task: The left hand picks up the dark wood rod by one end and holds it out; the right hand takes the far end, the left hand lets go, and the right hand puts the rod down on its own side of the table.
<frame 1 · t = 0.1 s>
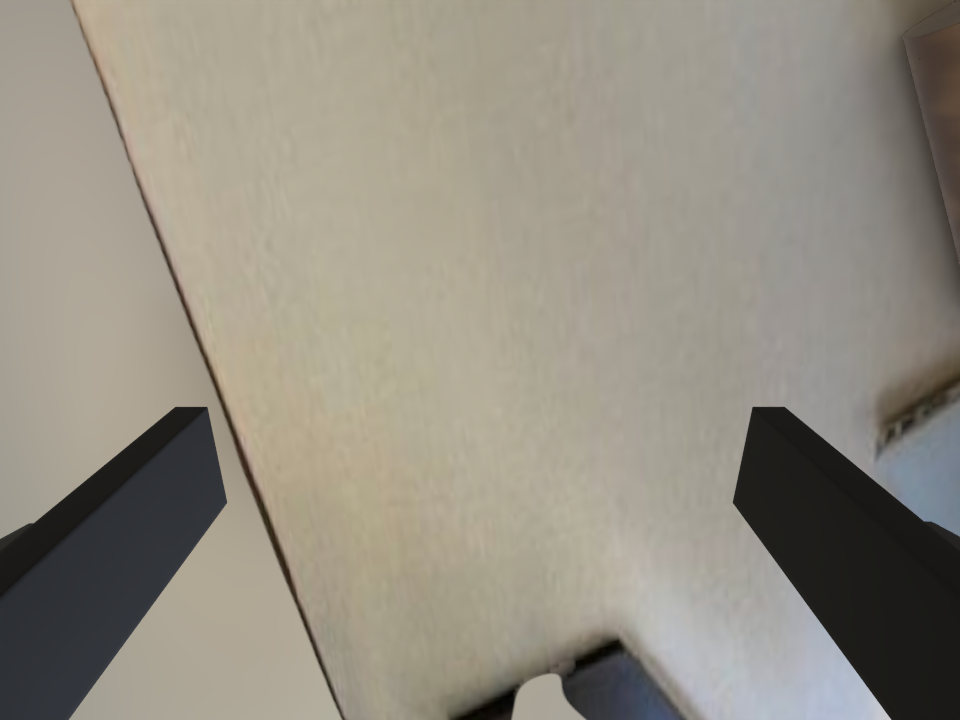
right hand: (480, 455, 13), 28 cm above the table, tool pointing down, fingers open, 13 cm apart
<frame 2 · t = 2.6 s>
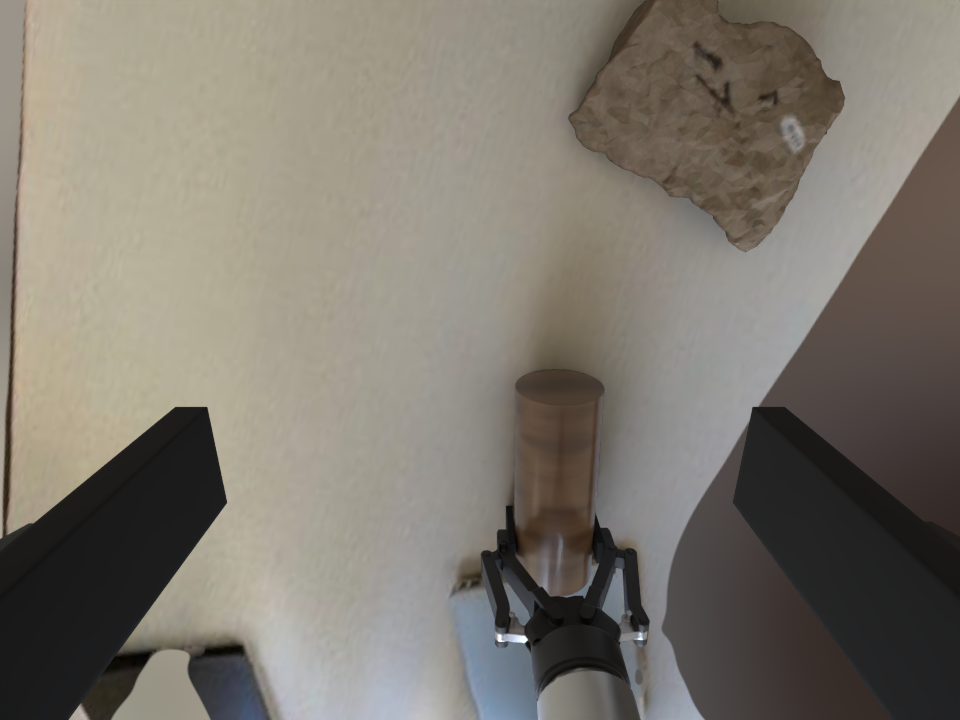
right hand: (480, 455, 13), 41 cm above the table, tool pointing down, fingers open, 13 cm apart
left hand: (548, 514, 62), fingers closed on rod, 9 cm apart
rod: (550, 461, 60), on the table, touching left hand
stone: (694, 123, 47), on the table
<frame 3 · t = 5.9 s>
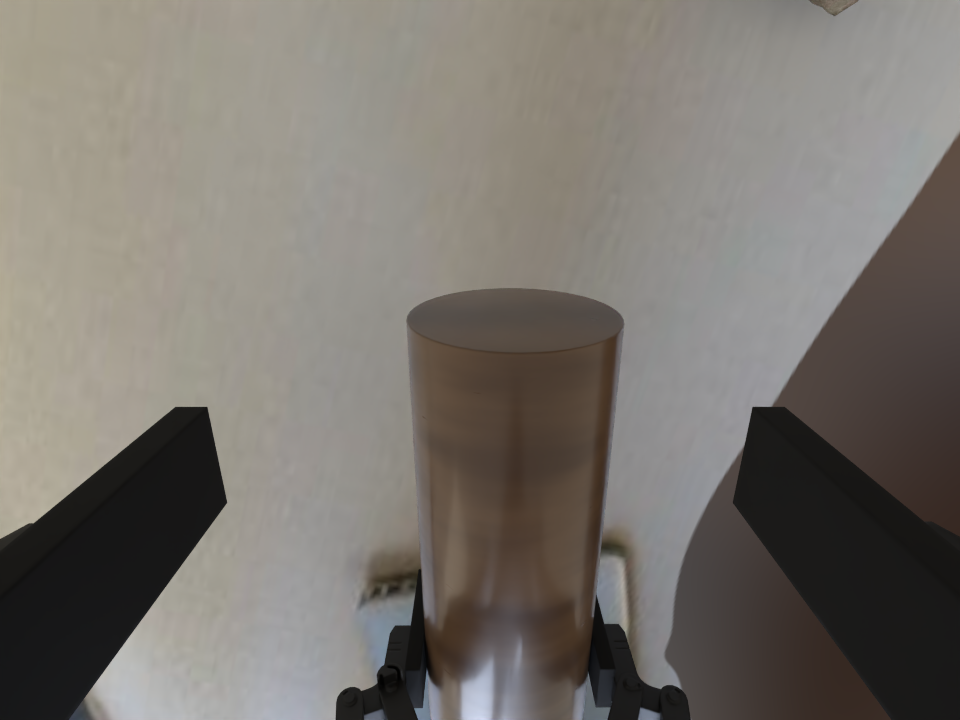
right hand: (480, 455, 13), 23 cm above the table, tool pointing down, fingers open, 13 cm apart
rod: (505, 483, 30), point 10 cm above the table, touching left hand
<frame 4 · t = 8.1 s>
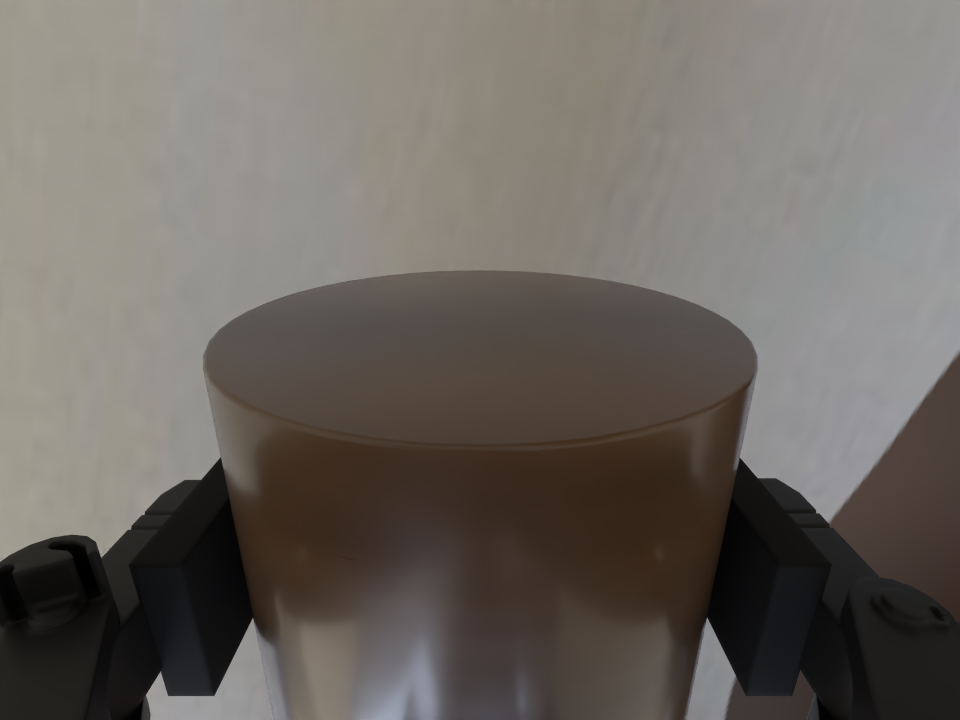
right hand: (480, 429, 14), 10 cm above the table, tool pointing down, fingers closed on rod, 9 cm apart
rod: (479, 612, 17), point 10 cm above the table, touching right hand, left hand
when the left hand's fingers open (10 cm above the table, at t = 9.1 s): rod stays where it is, held by the right hand.
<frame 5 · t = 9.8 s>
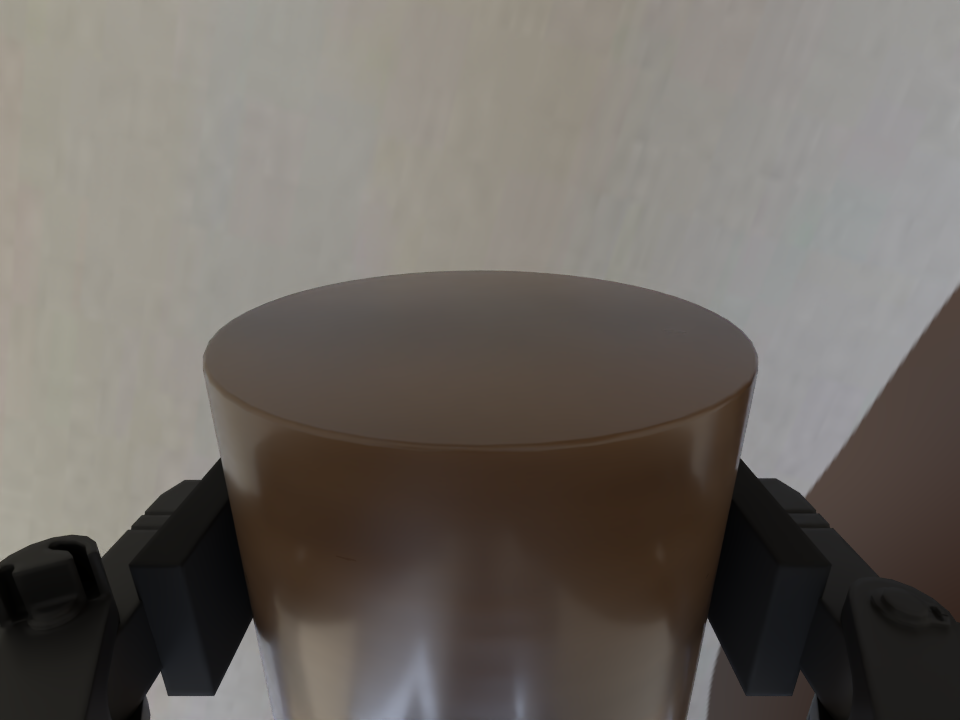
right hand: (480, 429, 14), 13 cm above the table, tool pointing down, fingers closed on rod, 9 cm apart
rod: (479, 612, 17), point 12 cm above the table, touching right hand
when the right hand's fingers open (2 cm above the table, at t = 13.4 s): rod drops 1 cm, on the table.
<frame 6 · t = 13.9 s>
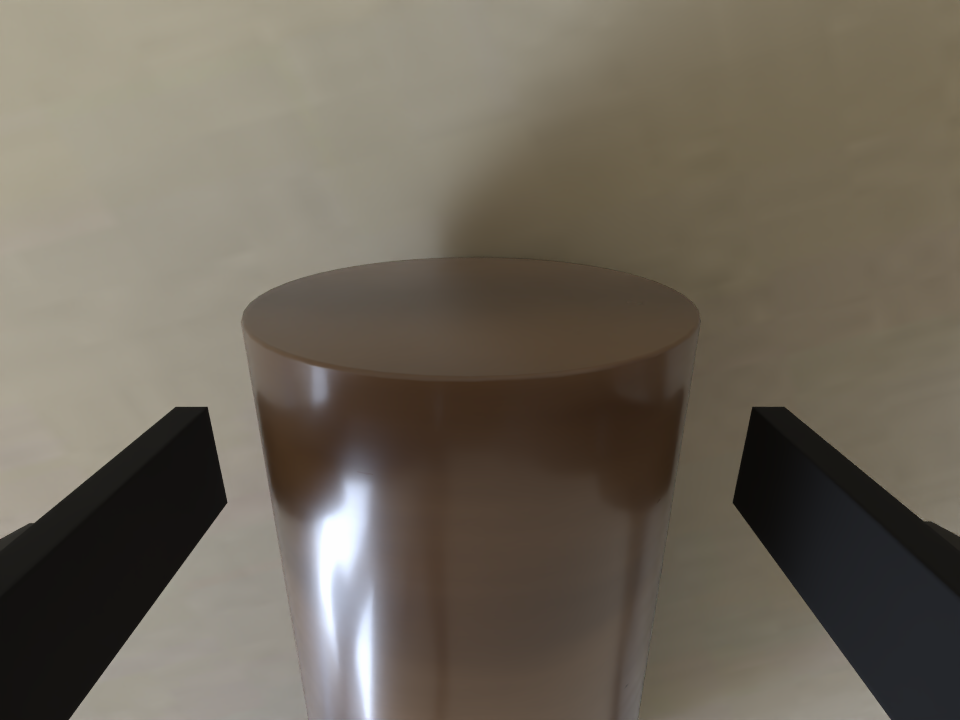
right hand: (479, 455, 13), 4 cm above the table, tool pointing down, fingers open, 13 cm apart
rod: (474, 573, 19), on the table
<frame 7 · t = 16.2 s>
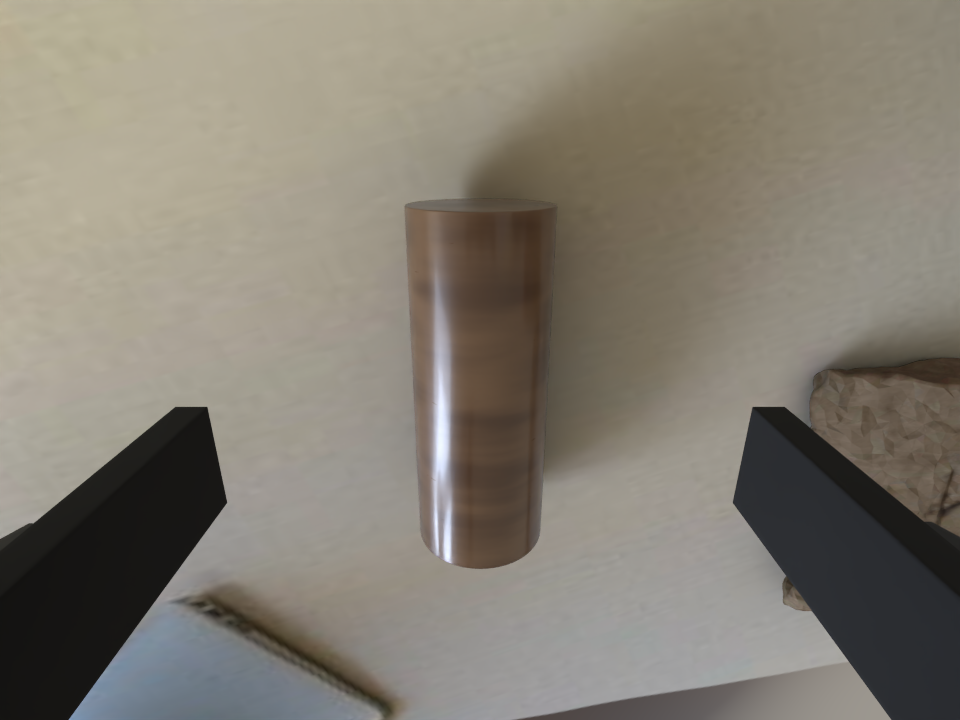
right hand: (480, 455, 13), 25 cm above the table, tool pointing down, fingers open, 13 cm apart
rod: (480, 359, 38), on the table
stone: (869, 475, 42), on the table
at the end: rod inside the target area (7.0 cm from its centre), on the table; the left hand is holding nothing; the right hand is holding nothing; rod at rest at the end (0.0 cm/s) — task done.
